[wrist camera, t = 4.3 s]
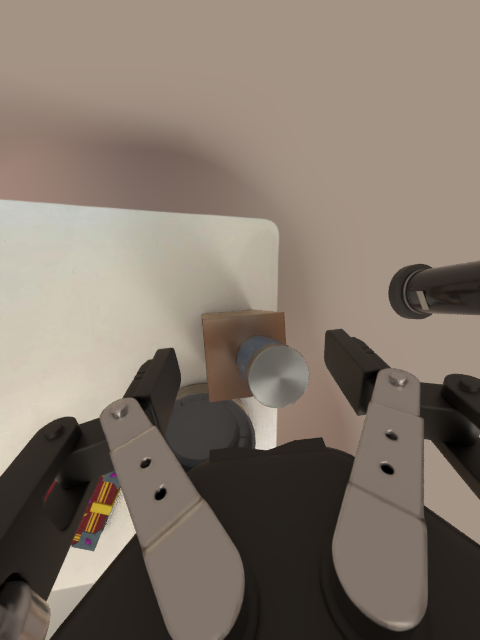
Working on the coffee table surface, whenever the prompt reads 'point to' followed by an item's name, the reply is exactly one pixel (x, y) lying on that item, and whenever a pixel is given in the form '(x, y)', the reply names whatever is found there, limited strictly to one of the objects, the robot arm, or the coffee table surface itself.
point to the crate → (234, 347)
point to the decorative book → (95, 511)
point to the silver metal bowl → (206, 426)
